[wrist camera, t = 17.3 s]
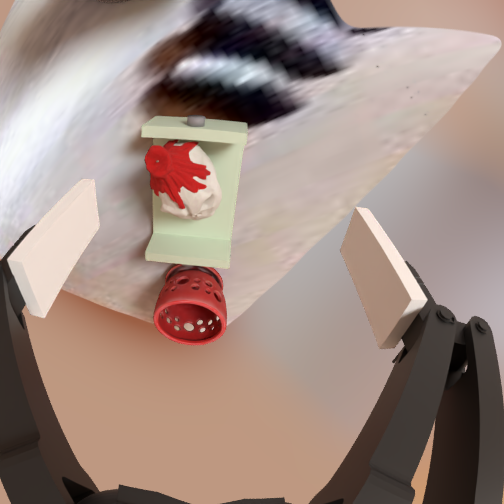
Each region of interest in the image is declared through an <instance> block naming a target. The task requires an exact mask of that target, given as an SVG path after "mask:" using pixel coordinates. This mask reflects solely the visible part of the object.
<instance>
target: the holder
mask: <svg viewBox="0 0 504 504" xmlns="http://www.w3.org/2000/svg"><path fill="white" fill-rule="evenodd" d="M247 135H248V131H247V123H242V122H234V121H224V120H214V119H205V117H204V116H200V115H190V116H187V117H168V116H155V117H154V118H152V119H151V120H149V121H148V122H147V123H145V124H144V125H142V133H141V137H148V138H153V145H159V146H162V147H163V146H164V145H165V144H166V143H167V142H168V141H169V140H175V139H179V140H178V142H183V141H190V142H193V141H197V142H199V143H198V145H199V146H200V148H201V149H202V150H203V151H204V152H205V154H206V155H207V156H208V157H209V158H210V160H211V162H212V163H213V165H214V167H215V170H216V174H217V180H218V183H219V185H220V188H221V190H222V199H221V202H220V205H219V207H218V208H217V209H216V210H215V213H214V215H212V216H211V217H208V218H205V219H201V220H192V219H181V218H178V217H176V216H174V215H172V214H170V213H166V212H162V211H161V210H160V208H161V205H162V201H161V199H160V197H158V196H157V195H155V193H154V190H152V202H153V235H152V237H151V240H150V242H149V244H148V247H147V249H146V251H145V258H146V260H147V261H156V262H166V263H175V264H182V265H183V266H184V267H192V266H194V265H195V266H205V267H215V268H225V269H229V266H230V252H231V237H232V229H233V221H234V213H235V206H236V198H237V191H238V184H239V177H240V169H241V162H242V155H243V148H244V145H246V142H247ZM178 142H177V143H178Z"/></svg>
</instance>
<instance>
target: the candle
mask: <svg viewBox="0 0 504 504" xmlns="http://www.w3.org/2000/svg"><path fill="white" fill-rule="evenodd" d="M178 140H179V139H175V140H169V141H168V142H167V143H166V144H165V145H164V146H163V147H162V146H159V145H153V146H151V147H150V149H149V150H148V152H147V154H146V156H145V163H146V168H147V170H148V171H149V172H150V175H151V180H150V186H151V189H152V190H154V193H155V195H157V196H158V197H160V199H161V201H162V205H161V208H160V210H161V211H162V212H166V213H170V214H172V215H174V216H176V217H178V218H181V219H192V220H201V219H205V218H208V217H211V216H212V215H214V213H215V210H216V209H217V208H218V207H219V205H220V202H221V199H222V190H221V188H220V185H219V183H218V180H217V174H216V170H215V167H214V165H213V163H212V162H211V160H210V158H209V157H208V156H207V155H206V154H205V152H204V151H203V150H202V149H201V148H200V146H199V145H198V143H199V142H197V141H193V142H190V141H183V142H178ZM177 142H178V143H177Z"/></svg>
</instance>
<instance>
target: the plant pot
mask: <svg viewBox="0 0 504 504" xmlns="http://www.w3.org/2000/svg"><path fill="white" fill-rule="evenodd" d="M222 290H223V281H222V278H221V276H220V275H219V273H218V272H217V271H216V270H215V269H214V268H212V267H205V266H195V265H194V266H192V267H184V266H183V265H182V264H177V265H175V266H174V267H172V268H171V269H170V270H169V272H168V273H167V275H166V278H165V285H164V287H163V288H162V290H161V292H160V294H159V297H158V300H157V303H156V306H155V311H154V316H153V320H154V324H155V326H156V328H157V329H158V331H159V332H160V333H161V334H163V335H164V336H165V337H167V338H168V339H170V340H172V341H174V342H178V343H181V344H186V345H204V344H208V343H211V342H213V341H215V340H217V339H218V338H220V337H221V336H222V335H223V334H224V332H225V330H226V324H227V311H226V303H225V298H224V295H223V292H222ZM165 309H166V311H167V313H166V312H165ZM160 313H161V316H160ZM217 316H218V317H219V320H218V321H217V320H216V317H217ZM167 317H168V318H169V319H170V323H168V322H167ZM175 317H176V318H177V319H178V321H175ZM199 320H203V323H202V324H201V325H198V324H197V322H198V321H199ZM210 320H212V323H211V324H210V325H208V322H209V321H210ZM185 323H191V324H192V325H193V326H194V329H193V330H192V331H187V330H186V329H185V328H184V324H185ZM174 326H178V327H179V329H180V330H176V329H175V328H174ZM213 327H214V329H213V330H212V328H213ZM201 328H205V331H204V332H200V329H201Z"/></svg>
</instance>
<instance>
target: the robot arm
mask: <svg viewBox="0 0 504 504" xmlns="http://www.w3.org/2000/svg"><path fill="white" fill-rule="evenodd" d="M98 1H101V2H107V3H116V2H122V1H126V0H98ZM99 227H100V224H99V217H98V209H97V200H96V191H95V181H94V180H92V179H81V180H80V181H79V182H78V183H77V184H76V185H75V186H74V187H73V188H72V189H71V190H70V191H69V192H68V193H67V194H66V195H65V196H64V197H63V198H62V199H61V200H60V201H59V202H58V203H57V204H56V205H55V206H54V207H53V208H52V209H51V210H50V211H49V212H48V213H47V214H46V215H45V216H44V217H43V218H42V219H41V220H40V221H39V222H38V224H37V225H34V226H32V227H31V228H29V229H28V230H26V231H25V232H24V233H23V235H22V236H21V237H20V238H19V240H17V241H16V243H15V244H14V246H12V247H11V248H10V250H9V251H8V252H7V253H6V255H5V256H4V257H3V258H2V260H1V261H0V479H1V481H2V484H3V486H4V489H5V491H6V493H7V495H8V498H9V500H10V502H11V504H190V503H187V502H184V501H181V500H178V499H175V498H172V497H169V496H167V495H164V494H161V493H159V492H154V491H148V490H143V489H138V488H133V487H128V486H123V485H119V488H118V489H114V490H106V491H102V492H99V490H98V488H97V487H96V485H95V484H94V483H93V481H92V479H91V478H90V477H89V475H88V474H87V473H86V472H85V471H84V470H83V468H82V467H81V466H80V464H79V462H78V461H77V459H76V457H75V455H74V453H73V451H72V449H71V448H70V445H69V443H68V441H67V439H66V437H65V435H64V433H63V431H62V429H61V426H60V424H59V422H58V420H57V417H56V415H55V412H54V410H53V408H52V405H51V403H50V400H49V397H48V395H47V392H46V389H45V387H44V384H43V381H42V378H41V375H40V372H39V369H38V366H37V363H36V359H35V356H34V353H33V349H32V345H31V342H30V338H29V334H28V330H27V326H26V322H25V317H24V315H23V313H22V309H23V308H24V306H25V304H26V306H27V308H28V311H29V313H30V314H31V315H34V316H37V317H42V318H45V317H46V315H47V313H48V311H49V309H50V307H51V305H52V304H53V302H54V300H55V298H56V296H57V295H58V293H59V291H60V289H61V288H62V286H63V284H64V282H65V281H66V279H67V277H68V276H69V274H70V272H71V271H72V269H73V267H74V266H75V264H76V262H77V261H78V259H79V258H80V256H81V254H82V253H83V251H84V250H85V248H86V247H87V245H88V244H89V242H90V241H91V239H92V238H93V236H94V235H95V233H96V232H97V230H98V229H99ZM340 252H341V254H342V256H343V259H344V261H345V263H346V266H347V268H348V270H349V273H350V275H351V277H352V280H353V282H354V285H355V287H356V289H357V292H358V294H359V297H360V299H361V302H362V304H363V307H364V309H365V312H366V315H367V317H368V320H369V322H370V325H371V328H372V330H373V333H374V336H375V338H376V341H377V344H378V347H379V349H386V348H387V349H388V348H395V347H396V345H397V344H398V342H399V341H400V340H401V339H402V340H403V343H404V345H405V346H404V347H403V348H402V350H401V351H400V352H399V354H398V355H397V356H396V358H395V359H394V360H393V361H392V362H393V363H395V362H396V363H395V365H394V367H393V370H392V372H391V374H390V376H389V378H388V380H387V383H386V385H385V387H384V389H383V391H382V393H381V395H380V397H379V399H378V401H377V403H376V405H375V407H374V409H373V411H372V413H371V415H370V416H369V418H368V420H367V422H366V424H365V425H364V427H363V429H362V431H361V432H360V434H359V436H358V438H357V439H356V441H355V443H354V444H353V446H352V448H351V450H350V451H349V453H348V454H347V456H346V457H345V459H344V461H343V462H342V464H341V465H340V467H339V468H338V470H337V471H336V473H335V474H334V476H333V477H332V478H331V480H330V481H329V483H328V484H327V485H326V486H325V487H324V488H323V489H322V490H321V491H320V492H319V493H318V494H317V495H316V496H315V497H314V498H313V499H312V500H311V501H310V503H309V504H412V502H413V499H414V496H415V490H414V489H413V488H412V487H411V481H412V478H413V476H414V474H415V472H416V469H417V467H418V465H419V462H420V460H421V457H422V455H423V452H424V450H425V447H426V444H427V442H428V439H429V436H430V433H431V430H432V427H433V424H434V421H435V431H434V440H433V448H432V455H431V462H430V469H429V474H428V480H427V485H426V490H425V495H424V499H423V503H422V504H502V497H503V488H504V406H503V395H502V386H501V379H500V372H499V366H498V360H497V354H496V349H495V344H494V339H493V335H492V331H491V328H490V327H489V325H488V323H487V322H486V321H485V320H483V319H482V318H480V317H477V316H474V317H472V318H471V319H470V321H469V322H468V323H467V324H464V323H461V322H458V321H457V320H456V318H455V316H454V314H453V313H452V312H451V311H450V310H449V309H447V308H446V307H444V306H442V305H436V303H435V301H434V299H433V298H432V296H431V294H430V293H429V291H428V289H427V288H426V286H425V285H424V283H423V281H422V280H421V279H420V276H419V275H418V273H417V272H416V270H415V269H414V268H413V267H412V266H411V265H410V264H409V263H408V262H407V261H404V260H403V259H402V257H401V256H400V254H399V253H398V251H397V249H396V248H395V247H394V245H393V243H392V242H391V240H390V239H389V238H388V236H387V235H386V233H385V232H384V230H383V229H382V227H381V226H380V224H379V223H378V222H377V220H376V219H375V217H374V216H373V215H372V213H371V212H370V211H369V209H366V208H360V207H355V209H354V213H353V215H352V218H351V222H350V224H349V227H348V230H347V233H346V235H345V238H344V241H343V244H342V247H341V249H340ZM466 365H468V366H467V370H466V372H465V367H466ZM435 418H436V419H435ZM222 504H291V503H286V502H285V499H284V498H267V499H242V500H237V501H232V502H227V503H222Z"/></svg>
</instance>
